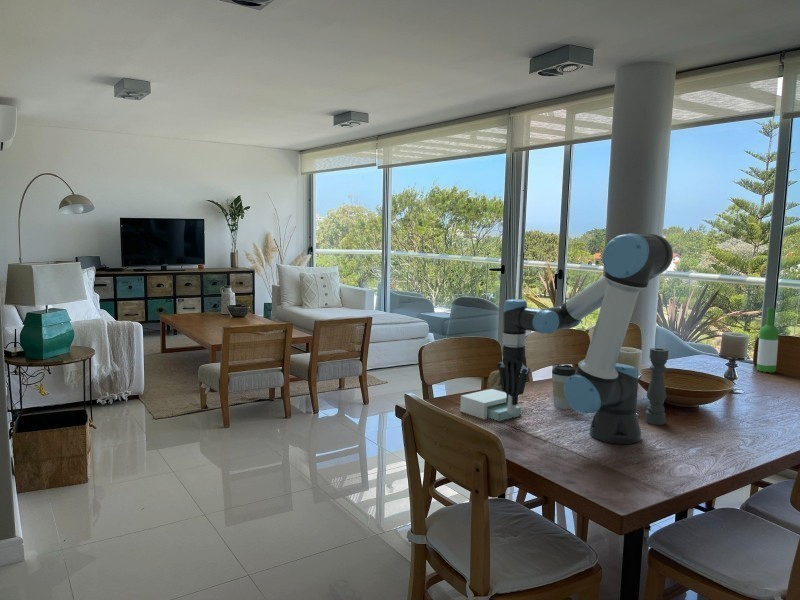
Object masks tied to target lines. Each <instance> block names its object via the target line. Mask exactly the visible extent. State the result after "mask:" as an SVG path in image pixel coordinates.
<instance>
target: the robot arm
mask: <svg viewBox="0 0 800 600" xmlns="http://www.w3.org/2000/svg"><path fill="white" fill-rule="evenodd" d="M673 258H674V251H673V247H672V245H671V244H670V242H669V241H668V240H667V239H666V238H664V237H663V236H661V235H660V234H659V235H658V234H652V233H651V234H650V233H648V234H647V233H646V234H645V233H644V234H643V233H641V234H640V233H639V234H638V233H624V234H621V235H620V234H619V235H617V236H616V237H614V238H612V239H611V240H610V241H608V243H607V244H606V246H605V247H604V249H603V252H602V255H601V261H602V262H601V263H602V264H603V268H604V270H605V272H604V275H603V276H601V277H600V278H599V279H597V280H596V281H594V282H593V283H591V284H590V285H589V286H587V287H586V288H584V289H582V290H581V291H580V292H578V293H576V294H575V295H574V296H572V297H571V298H569V299H568V300H566V301H565V302H563V303H562V304H560V305H559V306H553V307H544V308H536V307H535V308H533V307H528V302H527V300H525V299H518V298H517V299H516V298H515V299H514V298H513V299H512V298H511V299H506V300H505V301H504V305H503V312H502V313H503V326H502V327H503V328H502V329H503V330H502V331H503V332H502V344H503V345H502V353H501V355H502V357H503V358H502V361H500V362H497V363H496V366H497V370H499V373H500V380H501V387H502V391H505V392H506V394H507V399H506V402H507V403H508V410H507V414H514V413H516V406H518V403H519V396H520V395H523V394H524V391H525V387H526V383H527V379H528V374H529V373H531V369H530V368H528V367H526V365H525V360H524V359H525V357H526V347H525V345H526V335H527V334H526V333H527V331H530V332H535V333H539V334H542V335H543V334H545V335H546V334H548V335H551V334H554V333H555V332H556V331H557V330H565V329H567V330H568V329H572V328H575V327H578V326H579V324H580V323H581V321H582V319H585V318H586V317H587V316H589V315H590V314H592V313H593V312H595V311H597V310H599V309H600V310H599V313H598V315H597V318H596V321H595V326H594V328H593V331H592V335H591V339H590V342H589V346H588V349H587V352H586V355H585V358H584V359H582V360H580V361H578V364H577V366H576V369H575V370H576V373H575V375H572V376H570V377H569V378H568V379H567V380H566V382H565V384H564V394H565V398H566V399H567V401H568V403H569V405H570V406H571V407H572V409H573V410H574V411H575V412H577V413H579V414H585V415H586V414H594V415H593V419H592V420H591V421H592V422H591V423H590V426H589V434H590V436H591V437H592V438H594V439H595V440H599V441H601V442H605V443H610V444H617V445H619V444H620V445H630V444H636V443H639V442H641V439H642V431H641V428H640V424H639V420H638V416H637V406H638V405H637V404H638V388H639V380H640V379H639V371H638V369H637V368H636V366H632V365H628V364H622V363H619V362H618V360H619V355H620V352H621V350H622V347H623V344H624V341H625V337H626V334H627V331H628V328H629V325H630V321H631V318H632V315H633V313H634V310H635V306H636V303H637V299H638V297H639V295H640V294H639V293H640V292H641V291H643V290H645V289H647V287H648V286H649V282H650V281H651V280H652V279H654V278H656V277H658V276H660V275H661V274H663V273H664V272H666V270H668V268H670V266H671V265H672V261H673V260H674V259H673Z"/></svg>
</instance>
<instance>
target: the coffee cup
mask: <svg viewBox="0 0 800 600" xmlns="http://www.w3.org/2000/svg"><path fill="white" fill-rule="evenodd" d="M576 370H577V369H575V367H573V366H572V364H571V365H570V364H564V365H557V366H555V367H554V368H553V369H552V371H551V373H552V383H551V384H552V395H553V397H552V398H553V407H554V408H557V409H560V410H561V409H562V410H571V409H573V408H572V407H571V406H570V405H569V403H568V401H567V399H566V398H565V394H564V384H565V382H566V380H567V379H568V378H569V377H570V376H572V375H575V373H576Z"/></svg>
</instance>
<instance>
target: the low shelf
mask: <svg viewBox="0 0 800 600" xmlns="http://www.w3.org/2000/svg"><path fill="white" fill-rule="evenodd" d="M506 399H507V394H506V393H505V392H501V391H498V390H494V389H489V390H488V389H483V390H479V391H476V392H472V393H471V392H470V393H468V394H462V395H460V412H461V413H464V414H467V415H469V416H473V417H476V418H479V419H481V418H482V420H487V419H488V418H487V407H488V406H492V405H496V404H500V403H504V402H505V403H507V402H506Z"/></svg>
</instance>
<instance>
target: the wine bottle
mask: <svg viewBox="0 0 800 600" xmlns="http://www.w3.org/2000/svg"><path fill="white" fill-rule="evenodd" d="M766 309H767V310H766V320H765V322H766V323H765V325H763V326H762V327H761V328H760V330H759V336H758V345H757V347H758V348H757V360H756V369H757V371H758V370H759V371H758V372H761V371H763V372H762V373H766V372H769V373H768V374H770V373H771V374H772V373H775V372H776V371H777V361H778V347H779V336H780V335H779V333H780V332H779V329H778V328H777V327H776V326H775V325H774V322H775V308H774V307H767V308H766Z"/></svg>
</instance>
